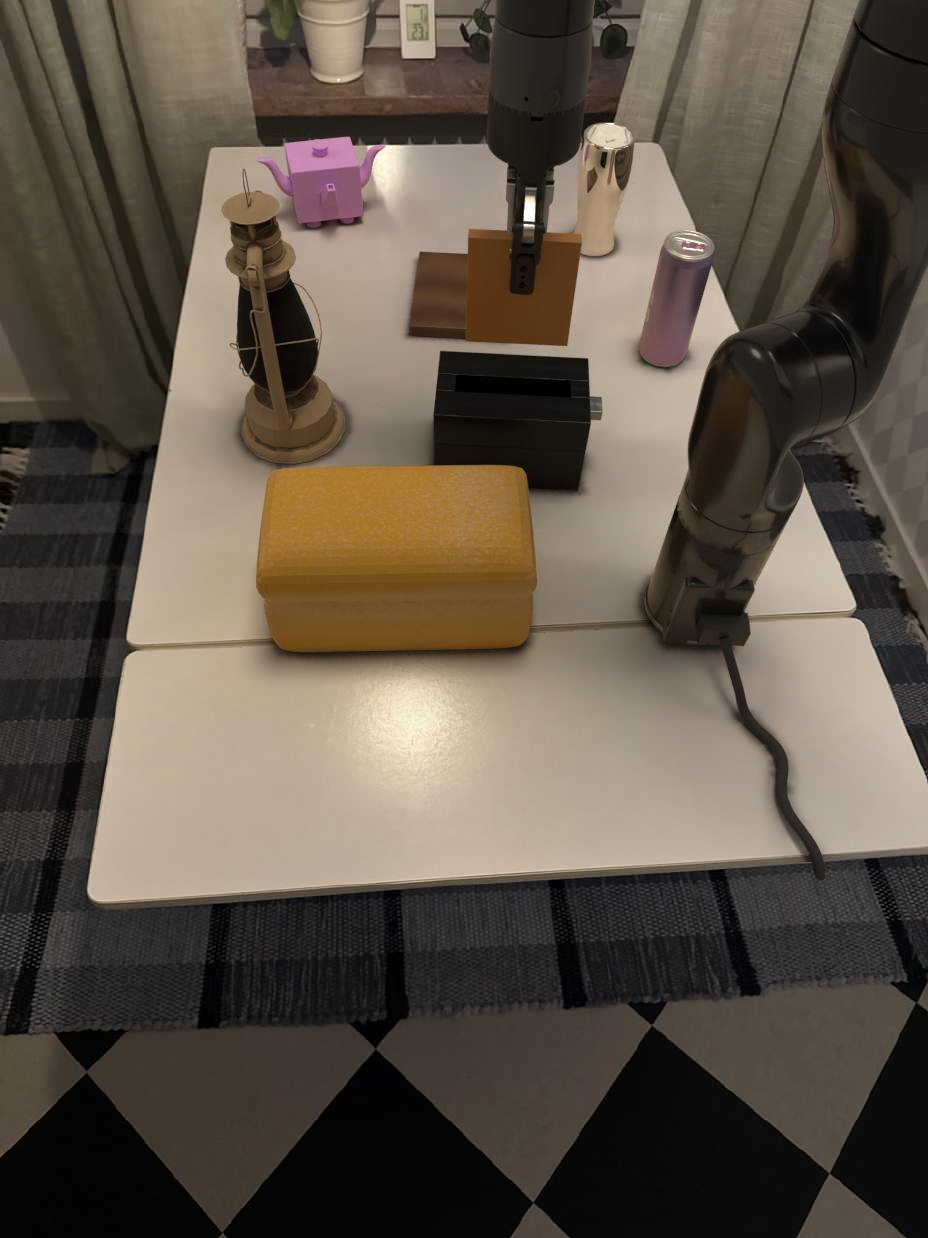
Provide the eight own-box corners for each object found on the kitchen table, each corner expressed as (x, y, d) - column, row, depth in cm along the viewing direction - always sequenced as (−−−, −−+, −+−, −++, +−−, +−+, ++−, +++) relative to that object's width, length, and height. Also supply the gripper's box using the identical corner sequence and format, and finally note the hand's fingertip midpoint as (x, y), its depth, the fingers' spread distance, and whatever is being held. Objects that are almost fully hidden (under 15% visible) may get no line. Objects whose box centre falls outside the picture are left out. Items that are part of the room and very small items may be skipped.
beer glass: (559, 249, 120) (573, 140, 107) (579, 224, 123) (595, 116, 111) (605, 264, 118) (625, 154, 106) (624, 238, 121) (645, 129, 109)
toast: (567, 346, 84) (582, 242, 75) (465, 341, 84) (467, 237, 75) (567, 337, 85) (581, 233, 75) (466, 332, 85) (468, 228, 76)
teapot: (271, 248, 118) (258, 179, 110) (261, 197, 126) (248, 128, 117) (398, 233, 121) (395, 164, 113) (381, 183, 128) (377, 115, 120)
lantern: (245, 386, 103) (181, 128, 78) (344, 381, 104) (312, 125, 79) (238, 474, 95) (164, 219, 70) (345, 469, 96) (310, 214, 71)
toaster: (592, 491, 94) (606, 423, 86) (434, 482, 95) (433, 414, 86) (590, 427, 100) (603, 358, 92) (440, 419, 100) (440, 350, 92)
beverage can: (683, 372, 106) (715, 263, 93) (635, 365, 106) (660, 255, 94) (686, 341, 109) (717, 232, 97) (639, 335, 110) (664, 225, 97)
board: (503, 340, 109) (504, 330, 107) (409, 335, 109) (408, 325, 107) (506, 265, 117) (507, 255, 116) (419, 260, 118) (419, 250, 116)
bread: (518, 546, 90) (531, 442, 77) (528, 650, 83) (543, 554, 70) (285, 550, 89) (260, 445, 77) (275, 655, 82) (244, 559, 69)
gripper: (491, 41, 69) (483, 241, 83) (485, 126, 61) (477, 330, 75) (585, 45, 69) (560, 245, 83) (590, 131, 61) (562, 334, 75)
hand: (521, 285), depth 79 cm, fingers closed on toast, 1 cm apart
